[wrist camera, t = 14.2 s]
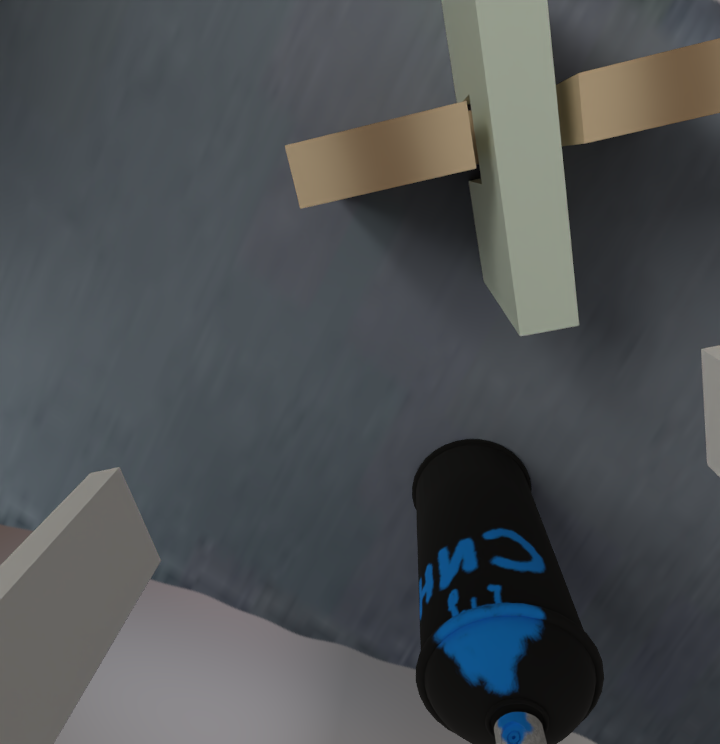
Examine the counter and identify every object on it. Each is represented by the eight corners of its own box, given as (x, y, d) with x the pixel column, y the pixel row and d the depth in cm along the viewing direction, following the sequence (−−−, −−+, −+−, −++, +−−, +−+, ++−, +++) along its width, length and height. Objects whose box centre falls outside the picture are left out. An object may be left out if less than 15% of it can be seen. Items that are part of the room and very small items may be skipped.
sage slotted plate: (523, 273, 35) (579, 325, 23) (483, 281, 35) (520, 336, 24) (484, -28, 30) (532, -146, 18) (439, -15, 30) (458, -123, 19)
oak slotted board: (335, 194, 34) (300, 208, 23) (325, 152, 33) (284, 145, 22) (651, 121, 31) (788, 97, 20) (649, 73, 31) (789, 20, 19)
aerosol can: (549, 512, 40) (674, 815, 22) (444, 555, 42) (475, 868, 23) (499, 418, 38) (590, 664, 19) (391, 468, 40) (378, 735, 21)
